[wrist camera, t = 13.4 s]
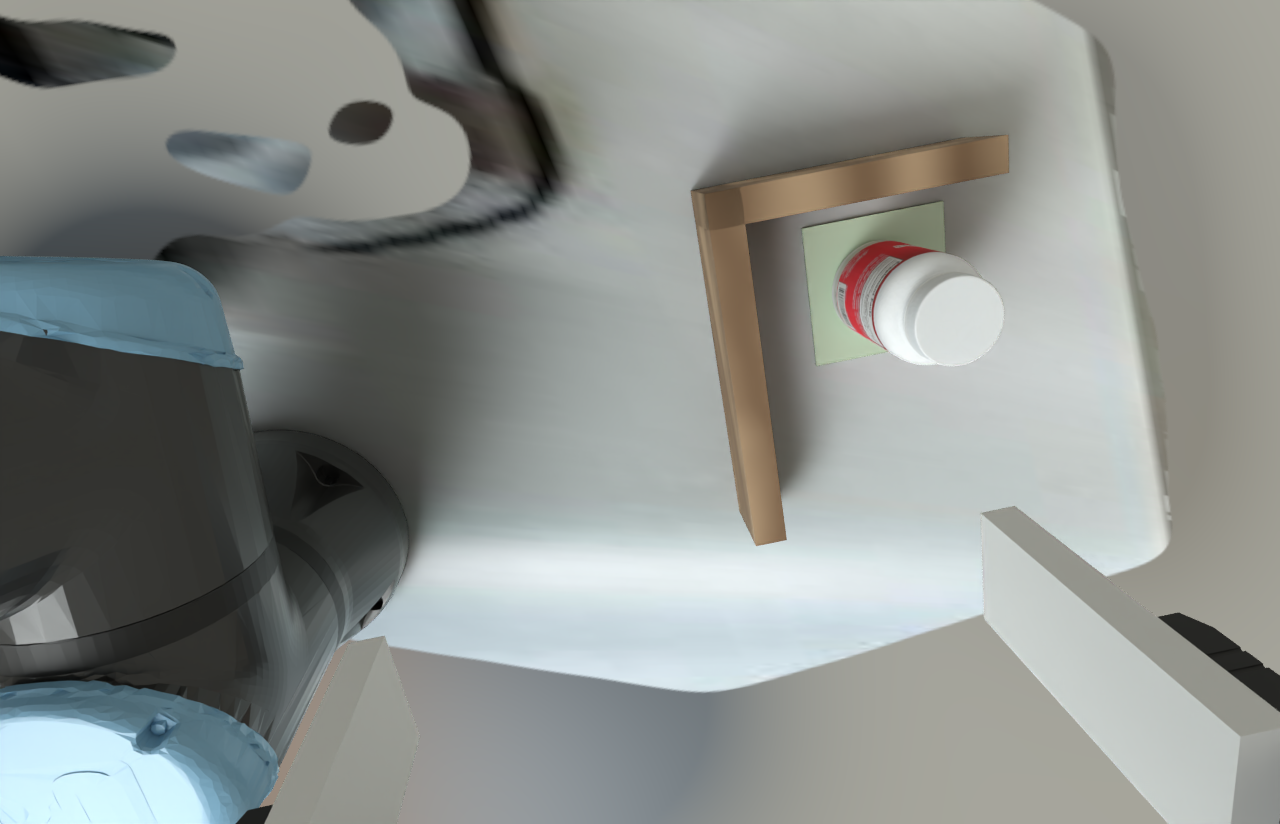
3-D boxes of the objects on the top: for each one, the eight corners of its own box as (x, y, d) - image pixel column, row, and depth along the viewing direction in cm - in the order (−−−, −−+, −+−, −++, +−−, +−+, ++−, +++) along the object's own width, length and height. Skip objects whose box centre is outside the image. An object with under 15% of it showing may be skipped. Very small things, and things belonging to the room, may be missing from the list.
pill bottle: (941, 276, 48) (1044, 308, 37) (879, 352, 49) (962, 403, 38) (871, 218, 46) (958, 234, 36) (809, 298, 47) (875, 336, 37)
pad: (816, 365, 49) (816, 366, 49) (801, 228, 46) (802, 228, 46) (947, 339, 49) (949, 339, 49) (941, 200, 46) (943, 201, 46)
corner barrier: (739, 511, 52) (756, 546, 47) (690, 190, 45) (704, 194, 40) (974, 463, 52) (1013, 493, 48) (962, 137, 45) (1008, 134, 40)
